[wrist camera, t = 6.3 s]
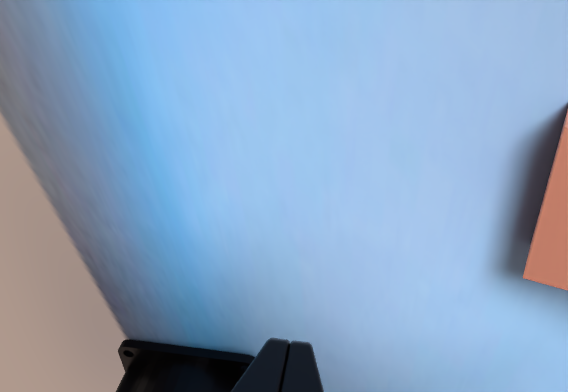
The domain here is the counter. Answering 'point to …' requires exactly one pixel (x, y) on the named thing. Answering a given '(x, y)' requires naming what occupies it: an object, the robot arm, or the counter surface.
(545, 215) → the domino
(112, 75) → the counter surface
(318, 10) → the counter surface
